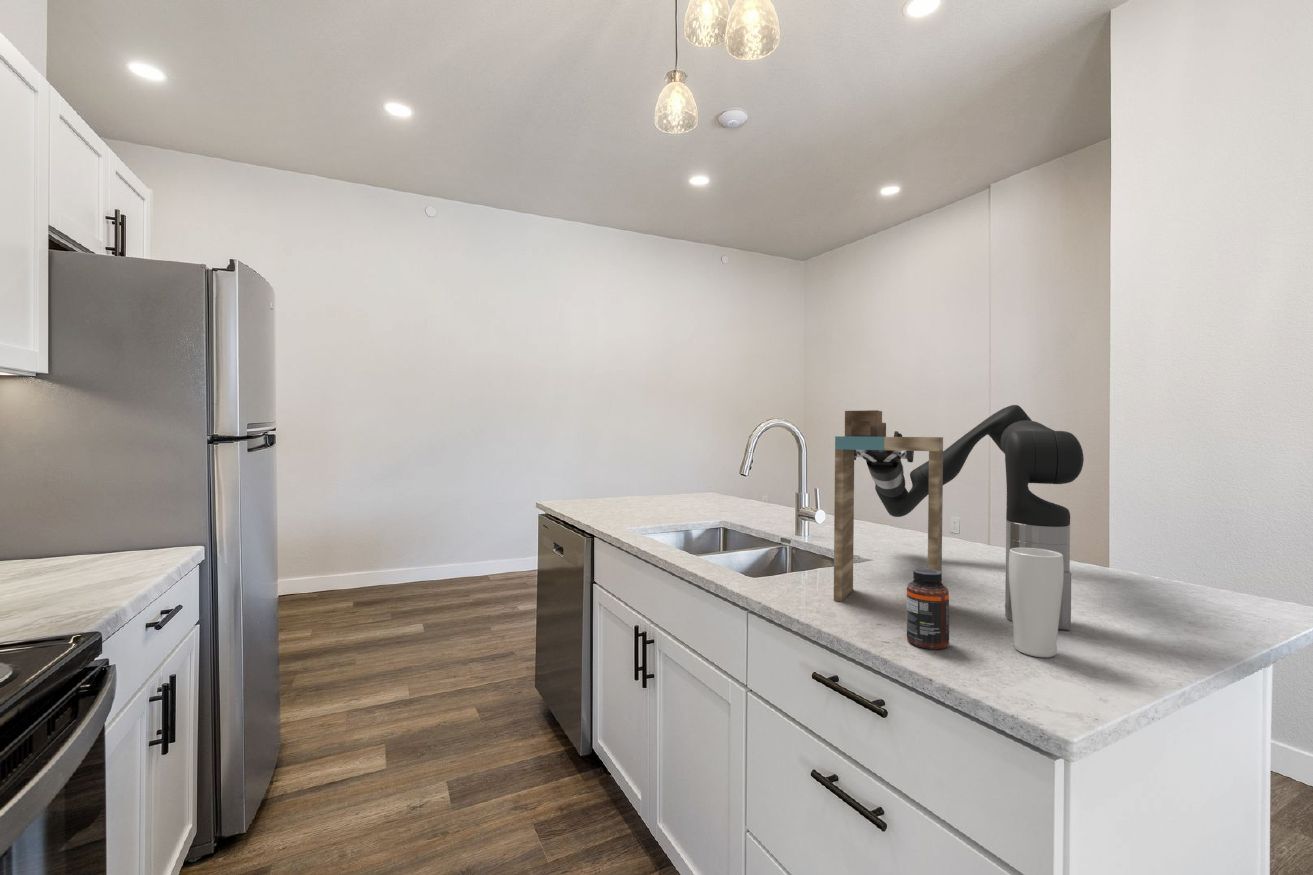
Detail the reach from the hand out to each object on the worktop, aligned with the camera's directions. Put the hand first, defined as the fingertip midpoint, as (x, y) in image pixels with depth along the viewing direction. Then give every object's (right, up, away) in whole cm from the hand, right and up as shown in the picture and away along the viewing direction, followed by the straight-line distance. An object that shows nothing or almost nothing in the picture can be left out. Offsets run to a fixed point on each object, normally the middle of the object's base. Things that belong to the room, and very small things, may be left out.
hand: (874, 434), depth 123 cm
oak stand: (-4, -33, -15) cm, 36 cm away
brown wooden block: (-5, -1, -9) cm, 10 cm away
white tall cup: (+8, -33, -40) cm, 52 cm away
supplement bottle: (-6, -33, -37) cm, 50 cm away
